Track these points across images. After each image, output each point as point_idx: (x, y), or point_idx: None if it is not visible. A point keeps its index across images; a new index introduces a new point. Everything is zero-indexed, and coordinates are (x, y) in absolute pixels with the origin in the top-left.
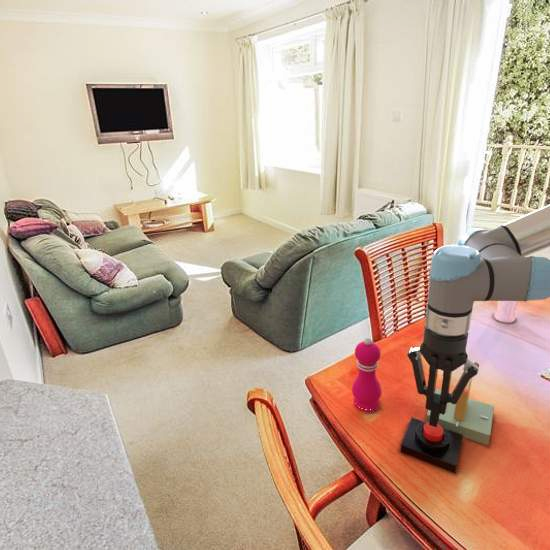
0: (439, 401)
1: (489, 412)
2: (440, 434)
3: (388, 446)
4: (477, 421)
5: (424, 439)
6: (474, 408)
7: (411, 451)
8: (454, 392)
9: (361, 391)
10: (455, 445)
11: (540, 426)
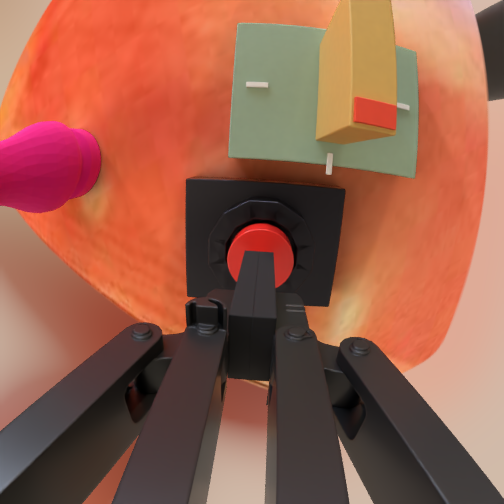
0: (266, 368)
1: (409, 81)
2: (284, 276)
3: (164, 279)
4: None
5: None
6: None
7: None
8: (352, 461)
9: (27, 211)
10: (326, 241)
11: (480, 82)
